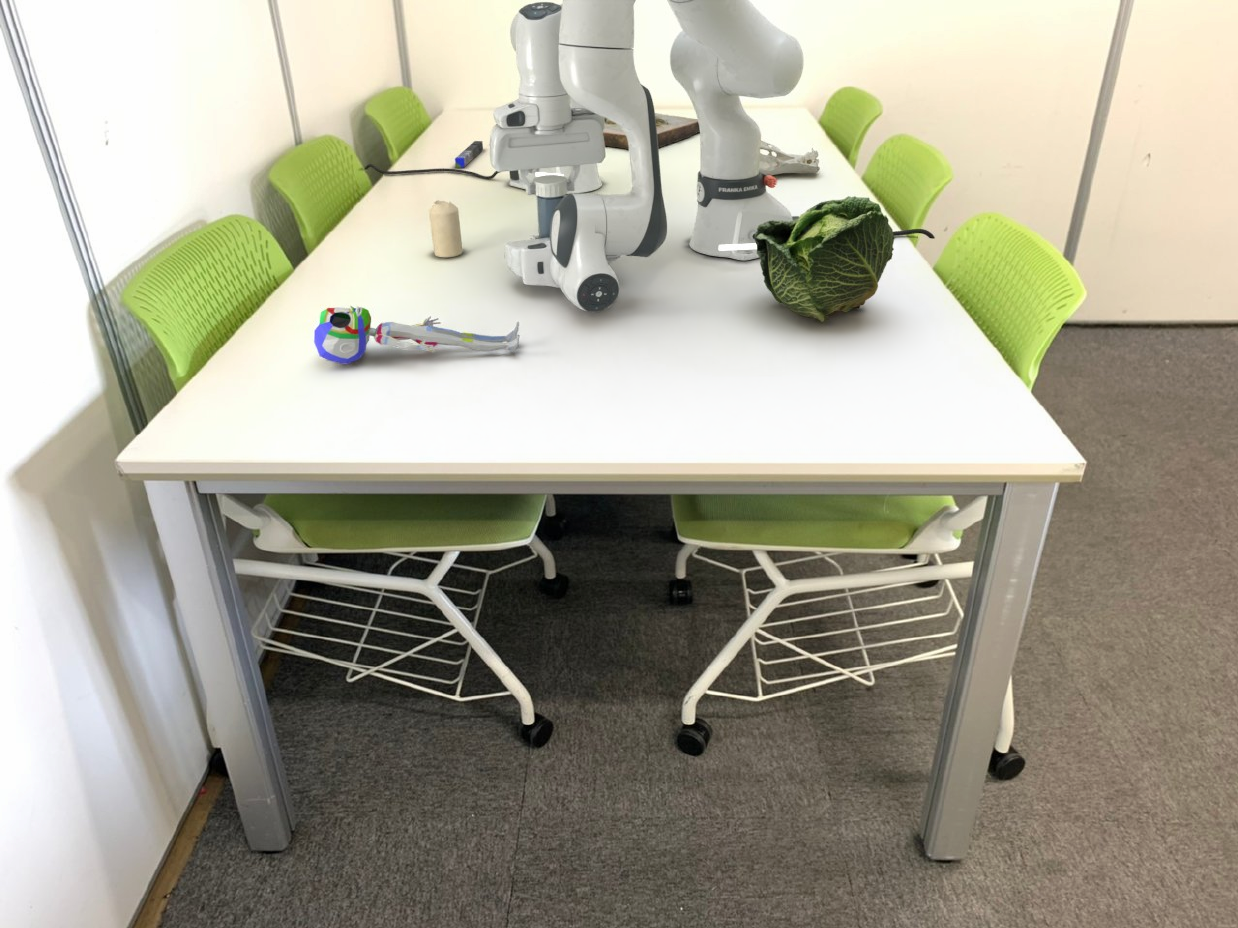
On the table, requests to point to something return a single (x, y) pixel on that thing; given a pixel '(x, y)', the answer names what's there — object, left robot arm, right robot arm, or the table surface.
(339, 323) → the toy
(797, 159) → the anatomical model
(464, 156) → the pillar
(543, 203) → the jar
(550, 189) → the lid
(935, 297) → the table surface
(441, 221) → the candle
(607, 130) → the plaque
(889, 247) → the vegetable
